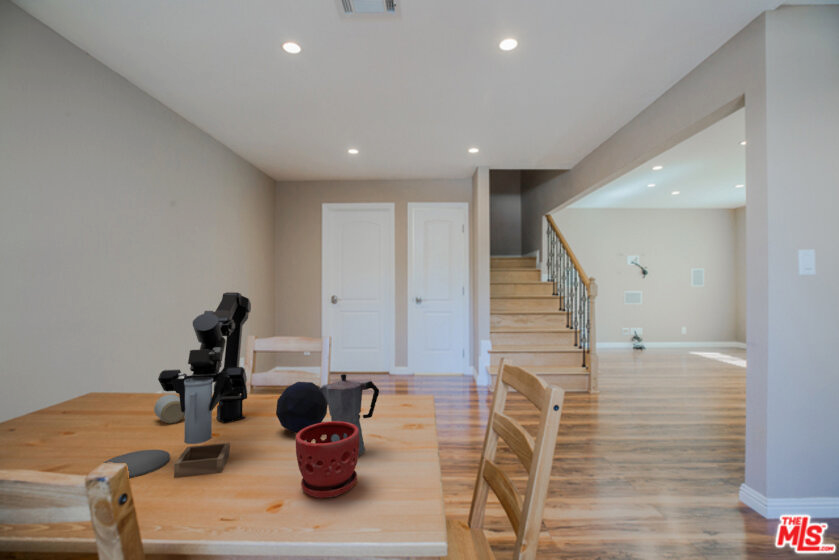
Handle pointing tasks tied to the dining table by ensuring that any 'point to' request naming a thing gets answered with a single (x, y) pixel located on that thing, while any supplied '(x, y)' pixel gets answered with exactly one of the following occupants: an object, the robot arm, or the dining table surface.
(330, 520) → the dining table surface
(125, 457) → the rubber mat
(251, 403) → the dining table surface
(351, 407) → the moka pot
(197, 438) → the jug
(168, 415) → the ceramic mug
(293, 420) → the decorative orb
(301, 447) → the plant pot
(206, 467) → the jug holder
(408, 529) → the dining table surface
